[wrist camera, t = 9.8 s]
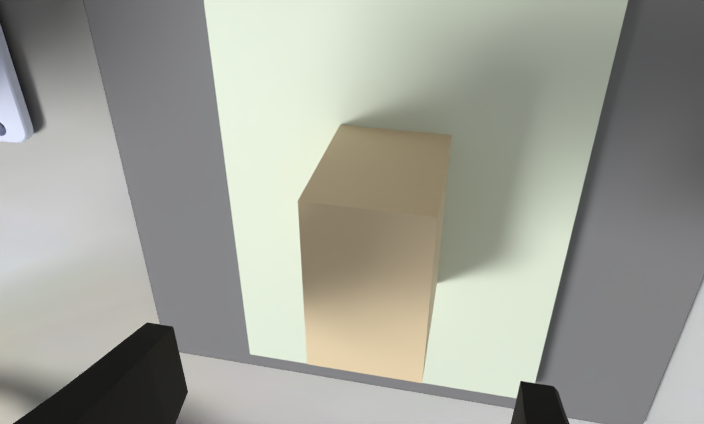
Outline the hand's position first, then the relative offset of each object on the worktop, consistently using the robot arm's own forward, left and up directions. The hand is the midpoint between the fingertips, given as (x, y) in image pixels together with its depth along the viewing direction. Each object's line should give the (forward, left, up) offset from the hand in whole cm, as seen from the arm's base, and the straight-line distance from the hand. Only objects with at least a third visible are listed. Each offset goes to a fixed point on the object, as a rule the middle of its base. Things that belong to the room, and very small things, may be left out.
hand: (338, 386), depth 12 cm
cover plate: (0, 0, -7) cm, 7 cm away
